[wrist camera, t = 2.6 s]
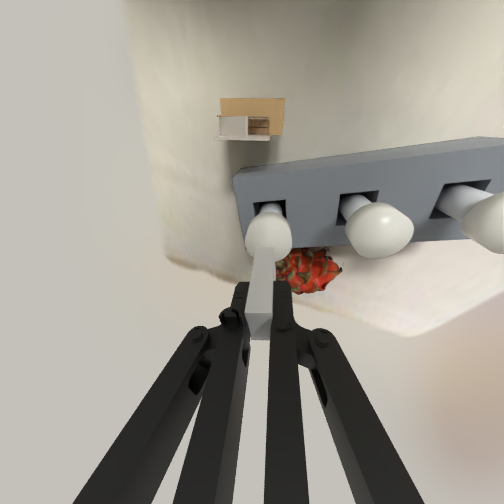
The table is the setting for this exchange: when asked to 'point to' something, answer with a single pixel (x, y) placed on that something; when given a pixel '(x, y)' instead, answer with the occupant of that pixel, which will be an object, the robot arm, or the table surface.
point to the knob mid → (374, 226)
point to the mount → (372, 187)
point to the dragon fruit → (307, 270)
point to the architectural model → (239, 125)
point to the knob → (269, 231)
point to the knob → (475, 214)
